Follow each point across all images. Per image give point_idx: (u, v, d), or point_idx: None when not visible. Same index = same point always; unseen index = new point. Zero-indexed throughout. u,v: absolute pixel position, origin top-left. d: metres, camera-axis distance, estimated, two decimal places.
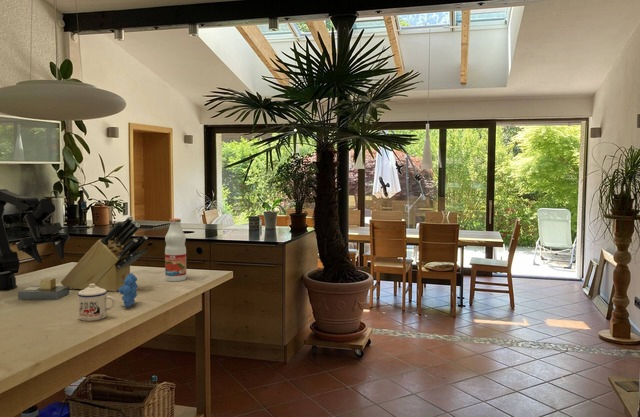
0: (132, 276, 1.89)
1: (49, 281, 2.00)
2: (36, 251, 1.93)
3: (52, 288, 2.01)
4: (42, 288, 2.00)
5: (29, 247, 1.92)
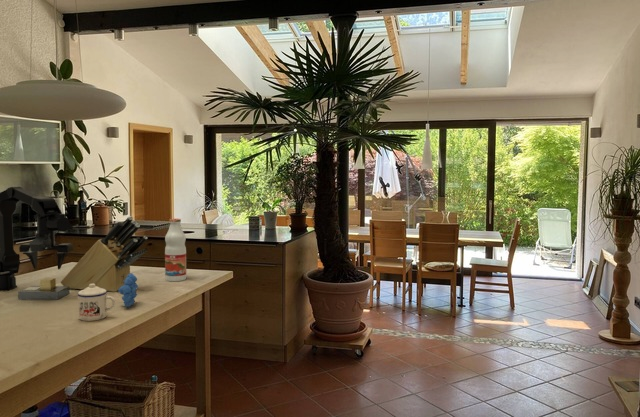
0: (132, 276, 1.89)
1: (49, 281, 2.00)
2: (31, 259, 1.99)
3: (52, 288, 2.01)
4: (42, 288, 2.00)
5: None
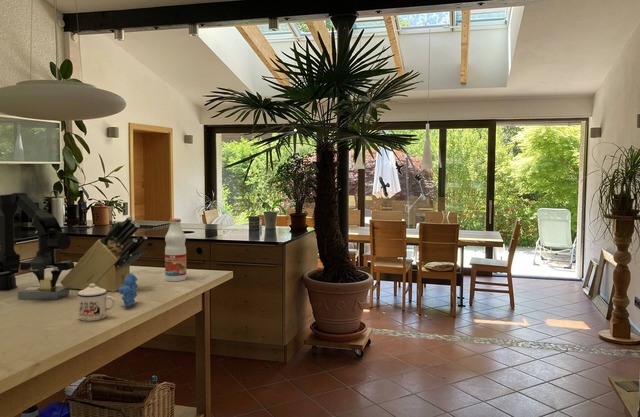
0: (132, 276, 1.89)
1: (49, 281, 1.99)
2: (38, 276, 2.00)
3: (52, 288, 2.01)
4: (42, 288, 2.00)
5: None
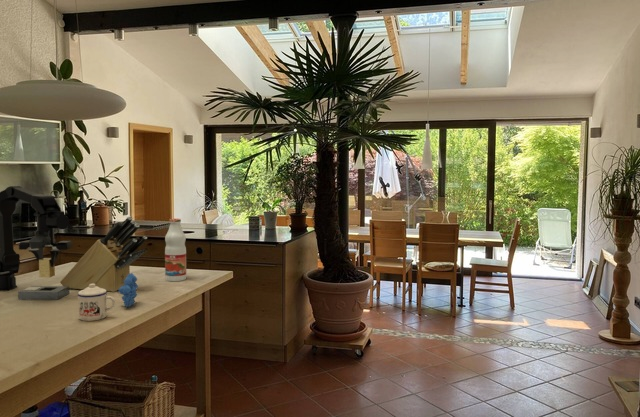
0: (132, 276, 1.89)
1: (48, 261, 1.99)
2: (37, 256, 1.99)
3: (51, 268, 2.01)
4: (41, 268, 1.99)
5: None
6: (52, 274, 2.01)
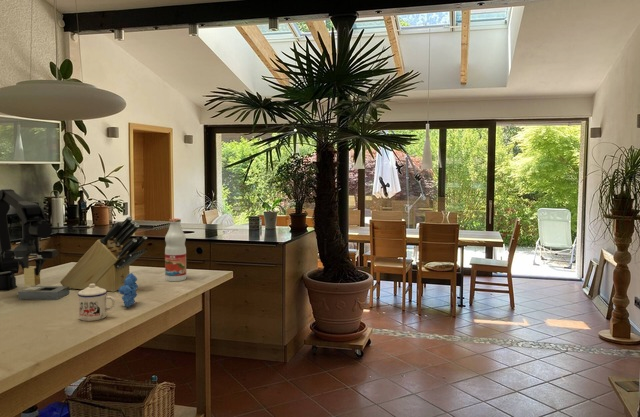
0: (132, 276, 1.89)
1: (33, 269, 1.99)
2: (22, 265, 2.00)
3: (36, 276, 2.01)
4: (26, 276, 1.99)
5: None
6: (37, 282, 2.02)
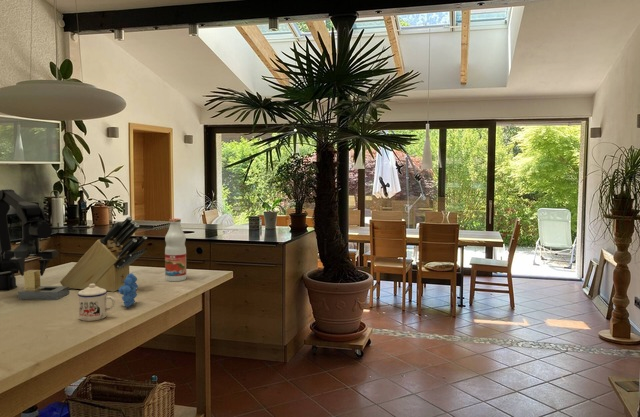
0: (132, 276, 1.89)
1: (33, 273, 1.99)
2: (18, 265, 1.99)
3: (36, 280, 2.01)
4: (26, 280, 1.99)
5: None
6: (37, 286, 2.02)
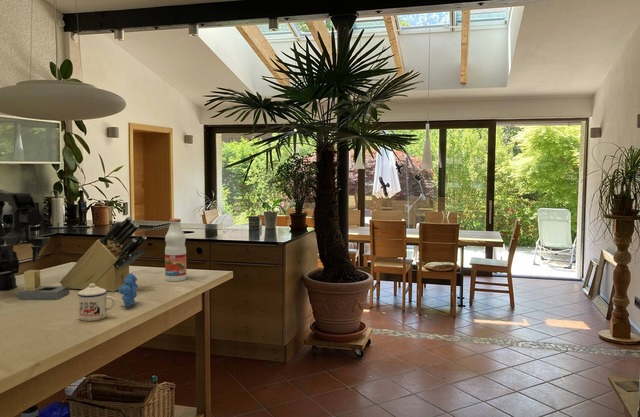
0: (132, 276, 1.89)
1: (33, 273, 1.99)
2: (6, 252, 2.03)
3: (36, 280, 2.01)
4: (26, 280, 1.99)
5: None
6: (37, 286, 2.02)
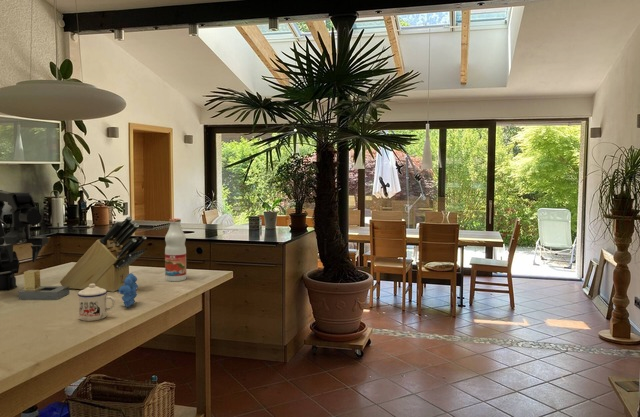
0: (132, 276, 1.89)
1: (33, 273, 1.99)
2: (6, 251, 2.03)
3: (36, 280, 2.01)
4: (26, 280, 1.99)
5: None
6: (37, 286, 2.02)
